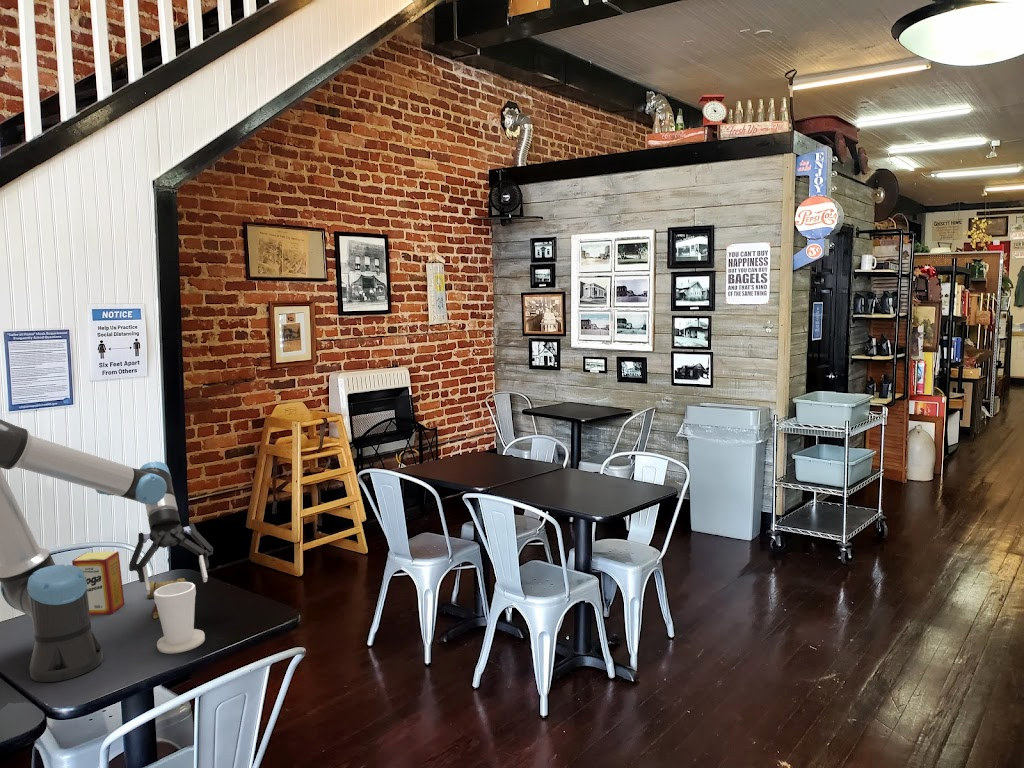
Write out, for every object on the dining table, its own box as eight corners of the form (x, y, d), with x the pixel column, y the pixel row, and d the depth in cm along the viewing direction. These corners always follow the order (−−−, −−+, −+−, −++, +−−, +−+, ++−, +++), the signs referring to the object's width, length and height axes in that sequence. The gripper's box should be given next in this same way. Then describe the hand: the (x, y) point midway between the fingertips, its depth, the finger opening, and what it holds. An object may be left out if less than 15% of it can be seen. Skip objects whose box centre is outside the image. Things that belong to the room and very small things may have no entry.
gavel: (174, 607, 211) (133, 612, 209) (175, 622, 212) (135, 628, 209) (185, 575, 231) (148, 580, 229) (186, 589, 232) (150, 594, 229)
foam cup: (208, 633, 197) (203, 584, 195) (178, 650, 189) (173, 598, 187) (180, 628, 201) (175, 580, 199) (150, 644, 193) (145, 593, 191)
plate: (177, 656, 188) (176, 652, 188) (147, 648, 193) (147, 643, 193) (214, 638, 197) (214, 633, 197) (185, 630, 203) (184, 626, 202)
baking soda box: (78, 615, 216) (71, 559, 214) (92, 605, 222) (85, 551, 220) (112, 614, 216) (105, 558, 214) (124, 604, 222) (118, 550, 220)
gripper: (210, 513, 218) (227, 581, 208) (111, 530, 205) (123, 604, 195) (212, 499, 213) (229, 568, 203) (111, 516, 200) (123, 591, 190)
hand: (177, 586), depth 199 cm, fingers open, 13 cm apart
